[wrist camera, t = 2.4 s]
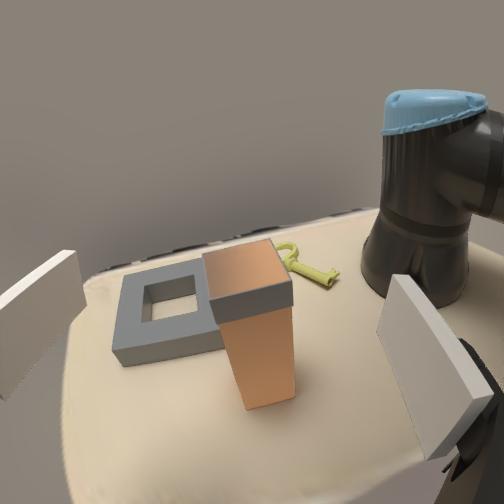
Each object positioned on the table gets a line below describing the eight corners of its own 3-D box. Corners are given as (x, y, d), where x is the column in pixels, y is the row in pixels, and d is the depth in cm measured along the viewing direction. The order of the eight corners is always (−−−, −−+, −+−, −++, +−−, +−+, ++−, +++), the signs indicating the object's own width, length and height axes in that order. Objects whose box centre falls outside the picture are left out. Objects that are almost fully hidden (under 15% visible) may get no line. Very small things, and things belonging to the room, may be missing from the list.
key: (332, 295, 35) (333, 282, 34) (246, 271, 41) (244, 259, 40) (349, 262, 40) (350, 249, 39) (271, 244, 46) (270, 232, 45)
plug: (282, 358, 29) (270, 238, 21) (296, 397, 25) (292, 280, 17) (235, 370, 28) (201, 253, 20) (245, 411, 24) (208, 300, 16)
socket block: (221, 272, 41) (216, 254, 40) (238, 344, 31) (233, 326, 29) (131, 292, 40) (124, 275, 38) (123, 367, 29) (111, 350, 28)
